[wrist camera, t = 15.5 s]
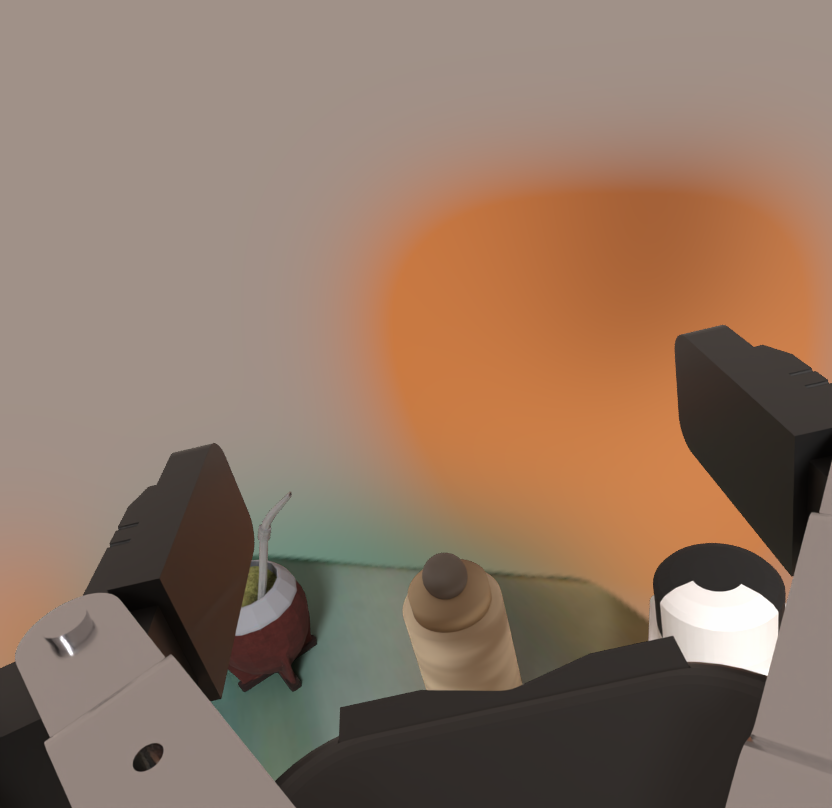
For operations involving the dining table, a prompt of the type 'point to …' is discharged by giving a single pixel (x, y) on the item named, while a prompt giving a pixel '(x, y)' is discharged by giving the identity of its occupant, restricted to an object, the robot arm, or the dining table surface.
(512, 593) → the dining table surface
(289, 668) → the mate gourd
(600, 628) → the dining table surface
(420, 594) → the pepper mill
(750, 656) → the medicine bottle
